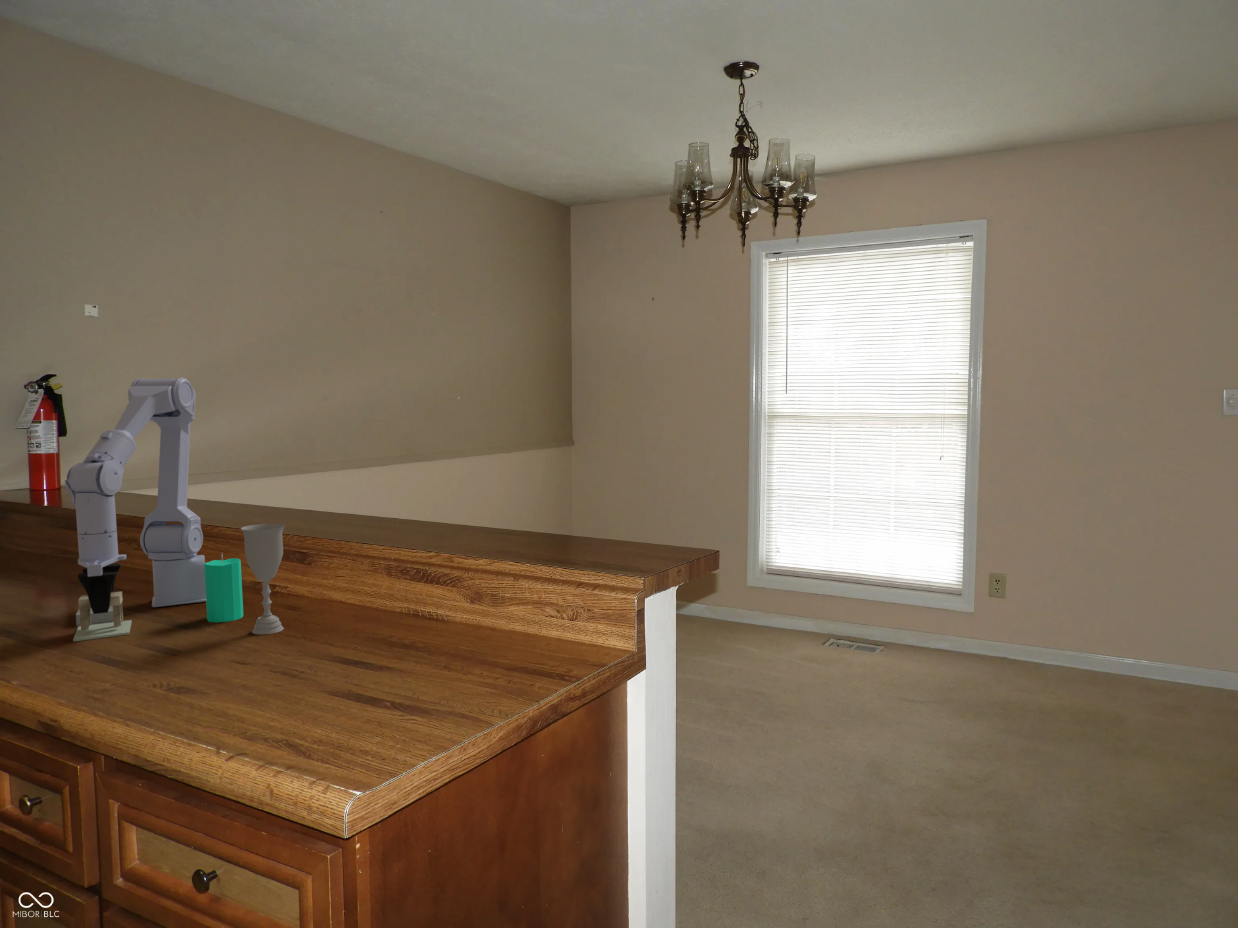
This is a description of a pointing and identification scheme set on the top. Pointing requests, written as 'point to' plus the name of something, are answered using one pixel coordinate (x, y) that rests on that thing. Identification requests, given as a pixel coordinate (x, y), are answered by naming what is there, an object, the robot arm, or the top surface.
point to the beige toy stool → (114, 601)
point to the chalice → (264, 567)
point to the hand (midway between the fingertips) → (102, 609)
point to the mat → (103, 631)
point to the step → (97, 617)
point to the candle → (223, 590)
